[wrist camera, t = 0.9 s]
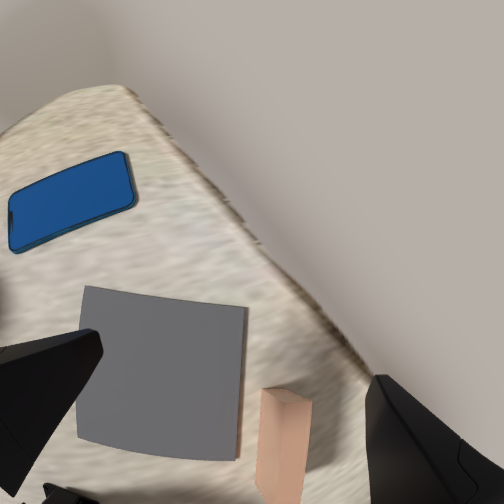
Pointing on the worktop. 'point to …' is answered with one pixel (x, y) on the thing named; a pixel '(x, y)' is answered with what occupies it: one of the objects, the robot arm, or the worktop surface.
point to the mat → (162, 376)
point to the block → (282, 445)
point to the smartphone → (69, 200)
